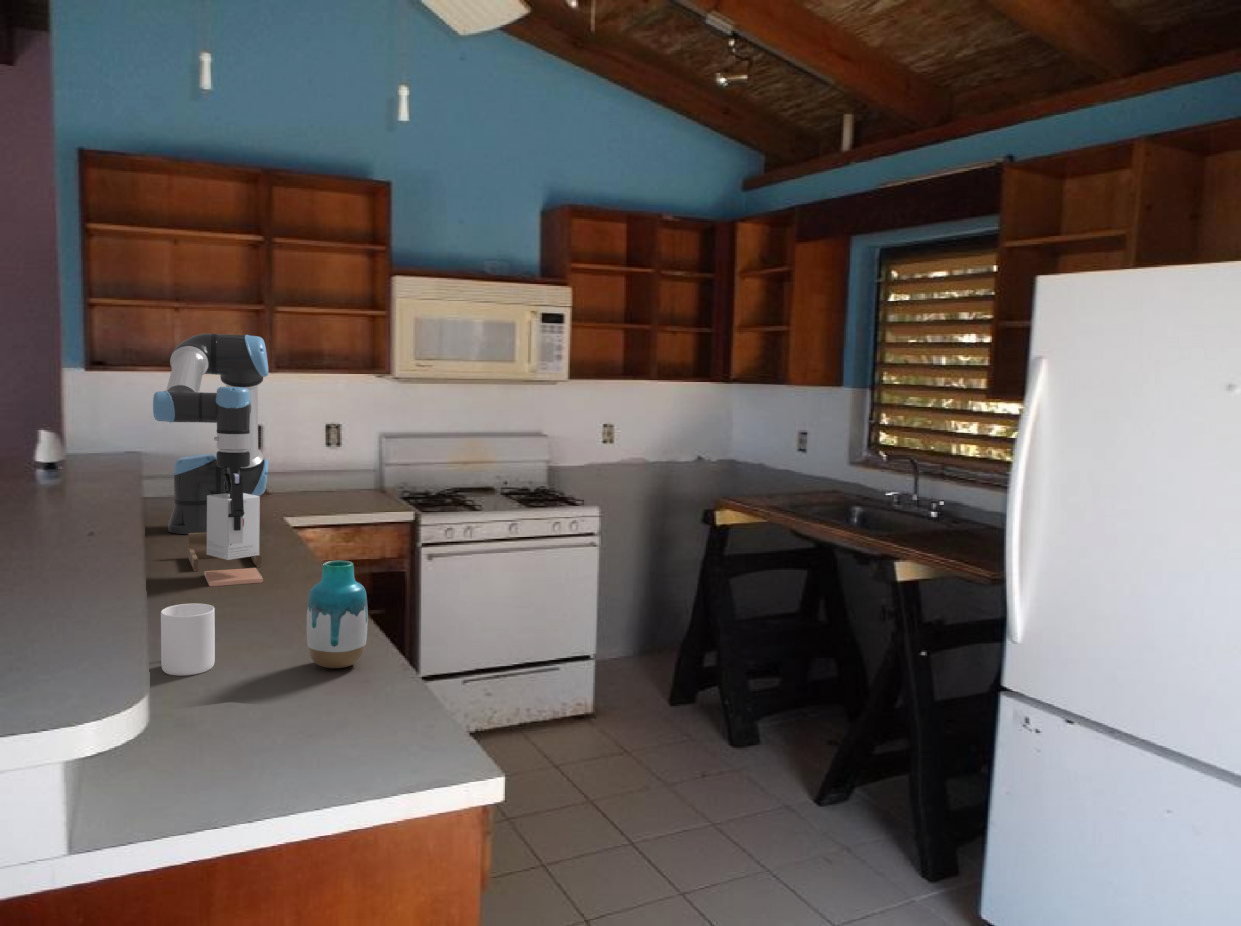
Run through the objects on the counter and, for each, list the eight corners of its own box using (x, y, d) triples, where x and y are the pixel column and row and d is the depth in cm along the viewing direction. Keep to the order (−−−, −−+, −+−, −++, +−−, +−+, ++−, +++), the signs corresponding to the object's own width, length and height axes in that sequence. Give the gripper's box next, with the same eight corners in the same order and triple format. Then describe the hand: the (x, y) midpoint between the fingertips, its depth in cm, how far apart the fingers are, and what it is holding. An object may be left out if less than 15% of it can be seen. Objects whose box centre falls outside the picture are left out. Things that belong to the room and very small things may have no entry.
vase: (375, 658, 172) (377, 559, 170) (353, 677, 161) (355, 571, 159) (321, 654, 173) (322, 555, 171) (296, 673, 162) (296, 567, 160)
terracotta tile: (204, 575, 228) (204, 571, 227) (255, 571, 234) (255, 567, 233) (209, 586, 217) (209, 582, 217) (263, 582, 223) (262, 578, 223)
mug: (211, 652, 171) (211, 596, 170) (216, 673, 160) (216, 613, 159) (160, 657, 167) (159, 600, 166) (162, 679, 156) (161, 618, 155)
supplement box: (227, 560, 218) (227, 499, 217) (205, 555, 223) (205, 494, 222) (260, 555, 226) (260, 495, 224) (239, 549, 231) (239, 491, 229)
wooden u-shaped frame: (188, 557, 245) (188, 533, 244) (252, 554, 253) (252, 530, 252) (193, 571, 231) (193, 544, 230) (261, 566, 239) (261, 541, 238)
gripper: (211, 445, 230) (211, 530, 233) (222, 455, 210) (222, 549, 212) (243, 445, 234) (243, 529, 236) (256, 455, 214) (256, 547, 216)
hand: (233, 538), depth 224 cm, fingers closed on supplement box, 11 cm apart
